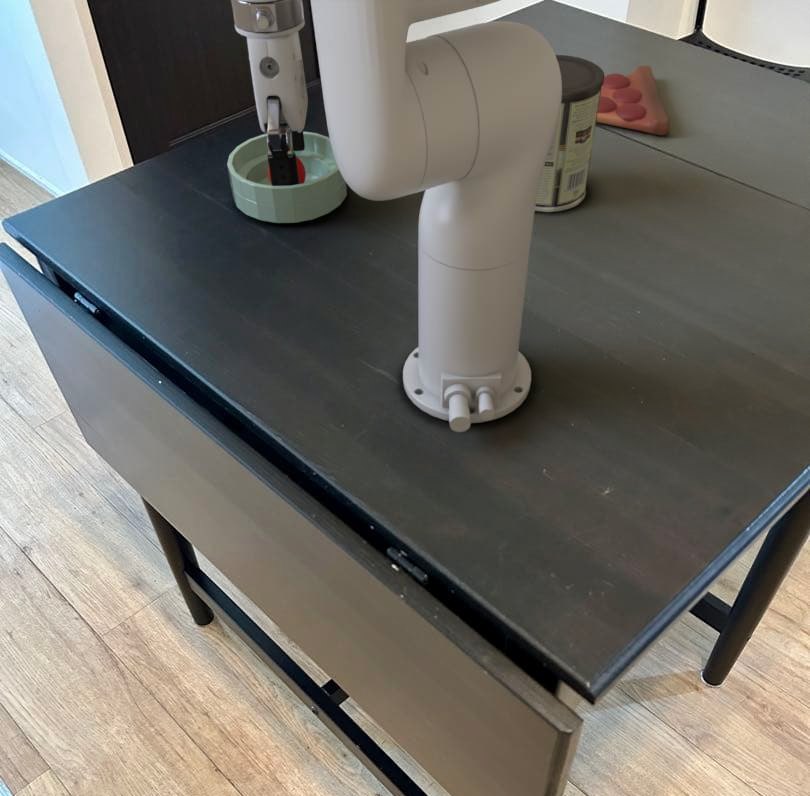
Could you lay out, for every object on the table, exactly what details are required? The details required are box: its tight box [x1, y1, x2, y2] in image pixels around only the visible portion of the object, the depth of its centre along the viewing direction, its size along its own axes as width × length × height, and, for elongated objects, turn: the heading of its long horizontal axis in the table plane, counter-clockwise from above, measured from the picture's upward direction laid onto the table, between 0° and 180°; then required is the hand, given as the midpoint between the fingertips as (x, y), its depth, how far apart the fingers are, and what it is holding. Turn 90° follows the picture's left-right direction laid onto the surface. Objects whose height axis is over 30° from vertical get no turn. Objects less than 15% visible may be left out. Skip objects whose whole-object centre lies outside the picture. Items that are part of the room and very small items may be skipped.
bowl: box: [226, 130, 348, 224], centre depth 103 cm, size 14×14×5 cm
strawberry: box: [268, 150, 306, 184], centre depth 103 cm, size 5×5×5 cm
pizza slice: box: [596, 65, 670, 137], centre depth 118 cm, size 18×2×20 cm
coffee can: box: [535, 54, 605, 213], centre depth 99 cm, size 10×10×14 cm
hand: (289, 168), depth 102 cm, fingers open, 9 cm apart
